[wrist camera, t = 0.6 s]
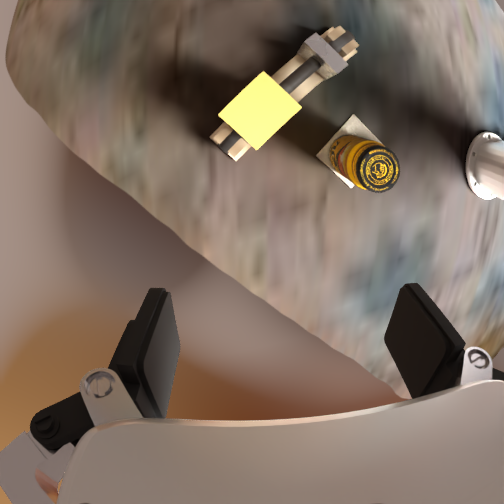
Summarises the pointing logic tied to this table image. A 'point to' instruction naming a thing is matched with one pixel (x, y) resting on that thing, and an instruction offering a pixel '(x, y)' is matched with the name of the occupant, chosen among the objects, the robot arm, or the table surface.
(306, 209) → the table surface
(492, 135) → the robot arm
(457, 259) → the table surface
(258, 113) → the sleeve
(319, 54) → the grey slab
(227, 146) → the cord rig
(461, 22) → the table surface
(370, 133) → the condiment
